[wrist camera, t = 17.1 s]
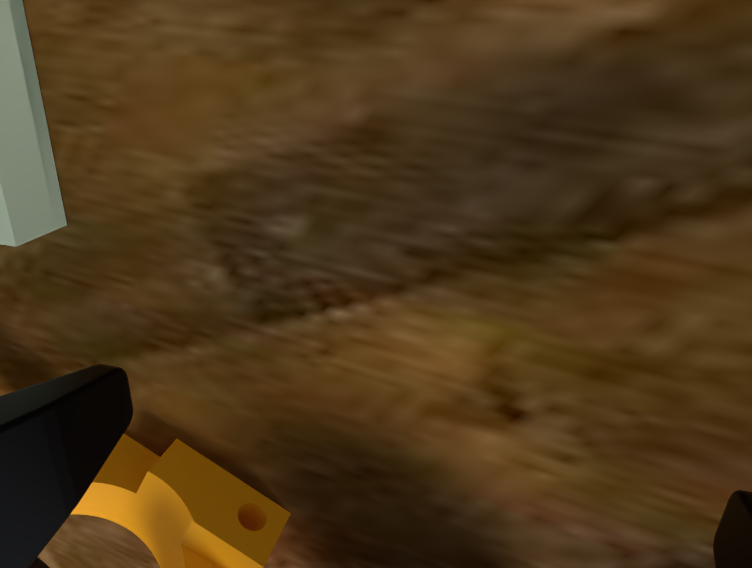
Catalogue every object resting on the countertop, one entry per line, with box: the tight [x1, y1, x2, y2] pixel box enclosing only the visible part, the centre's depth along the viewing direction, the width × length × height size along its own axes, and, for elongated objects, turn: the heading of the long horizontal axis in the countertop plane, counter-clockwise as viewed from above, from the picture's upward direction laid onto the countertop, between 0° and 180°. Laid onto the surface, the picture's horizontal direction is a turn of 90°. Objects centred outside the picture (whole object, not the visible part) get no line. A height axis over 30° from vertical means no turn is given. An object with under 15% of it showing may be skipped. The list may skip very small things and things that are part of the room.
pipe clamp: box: [71, 434, 291, 568], centre depth 25 cm, size 12×4×6 cm, turn 59°
